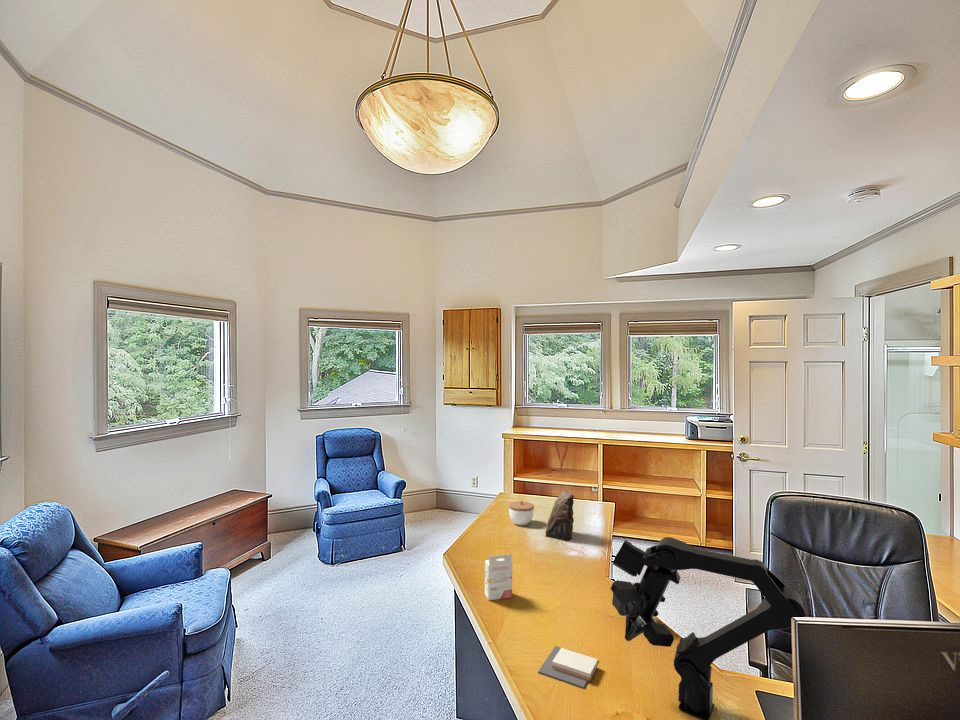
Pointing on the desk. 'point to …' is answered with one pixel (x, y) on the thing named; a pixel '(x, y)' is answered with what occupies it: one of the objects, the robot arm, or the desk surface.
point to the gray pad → (548, 671)
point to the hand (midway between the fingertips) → (627, 639)
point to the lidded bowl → (521, 512)
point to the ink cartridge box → (498, 577)
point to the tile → (575, 664)
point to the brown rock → (561, 518)
